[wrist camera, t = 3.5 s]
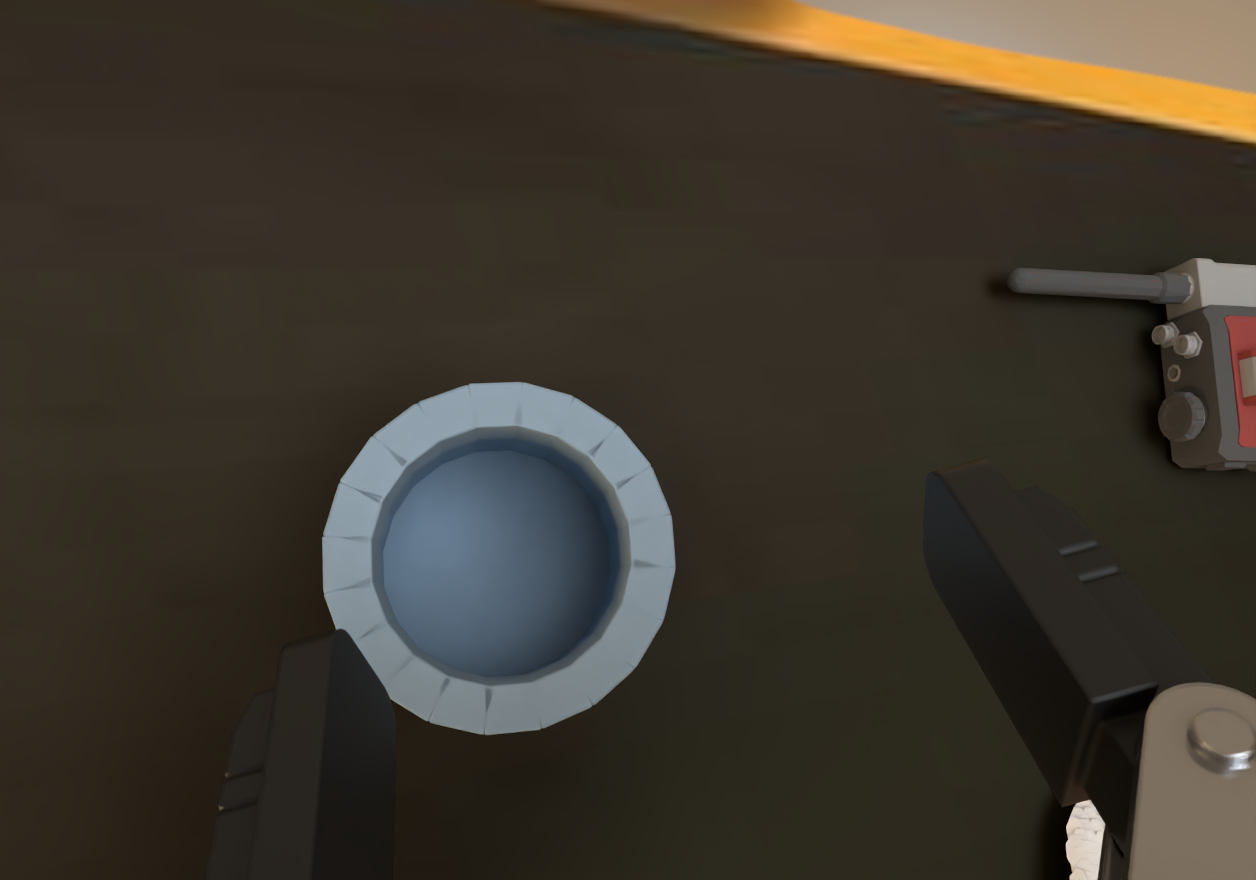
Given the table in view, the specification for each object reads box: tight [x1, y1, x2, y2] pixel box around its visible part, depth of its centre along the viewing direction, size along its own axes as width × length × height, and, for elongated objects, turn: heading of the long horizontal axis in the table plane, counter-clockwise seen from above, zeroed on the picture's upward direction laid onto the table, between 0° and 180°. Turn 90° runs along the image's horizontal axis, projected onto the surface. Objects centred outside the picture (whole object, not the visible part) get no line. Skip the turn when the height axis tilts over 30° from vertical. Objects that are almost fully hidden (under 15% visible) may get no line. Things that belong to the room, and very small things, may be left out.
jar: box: [322, 382, 676, 735], centre depth 28 cm, size 9×9×10 cm
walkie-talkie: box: [1007, 258, 1256, 471], centre depth 37 cm, size 9×4×20 cm
